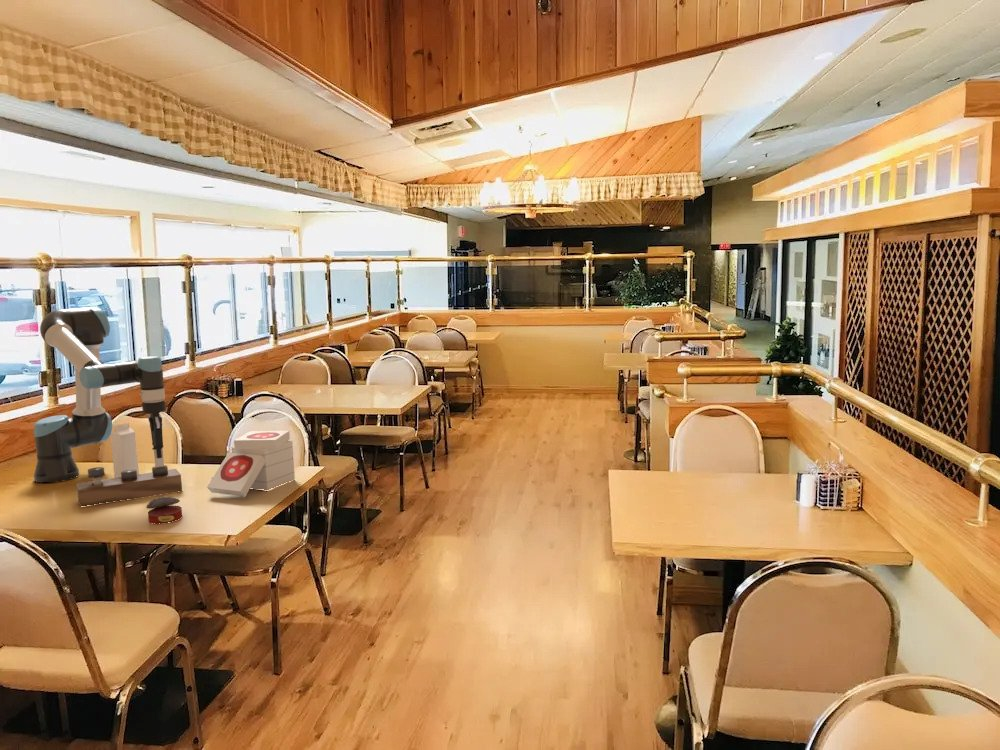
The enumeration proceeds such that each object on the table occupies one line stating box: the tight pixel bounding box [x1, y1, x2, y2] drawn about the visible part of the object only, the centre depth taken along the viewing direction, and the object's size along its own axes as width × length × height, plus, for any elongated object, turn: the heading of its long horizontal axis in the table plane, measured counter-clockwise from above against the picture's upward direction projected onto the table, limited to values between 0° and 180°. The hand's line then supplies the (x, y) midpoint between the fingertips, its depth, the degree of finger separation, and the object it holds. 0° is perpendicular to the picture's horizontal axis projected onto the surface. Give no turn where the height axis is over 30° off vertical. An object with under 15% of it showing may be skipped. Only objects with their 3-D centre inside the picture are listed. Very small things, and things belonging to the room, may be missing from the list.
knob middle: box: [121, 470, 137, 481], centre depth 274 cm, size 5×5×7 cm
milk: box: [110, 422, 140, 478], centre depth 291 cm, size 6×6×22 cm
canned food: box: [145, 496, 183, 525], centre depth 248 cm, size 11×10×10 cm
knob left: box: [87, 466, 106, 486], centre depth 269 cm, size 5×5×7 cm
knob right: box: [151, 464, 169, 476], centre depth 279 cm, size 5×5×7 cm
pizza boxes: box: [206, 430, 296, 497], centre depth 279 cm, size 19×30×18 cm, turn 156°
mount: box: [76, 468, 183, 508], centre depth 274 cm, size 10×32×6 cm, turn 121°
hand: (159, 466), depth 279 cm, fingers closed
